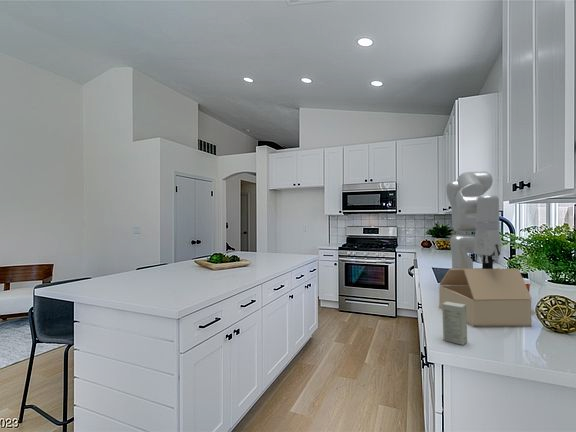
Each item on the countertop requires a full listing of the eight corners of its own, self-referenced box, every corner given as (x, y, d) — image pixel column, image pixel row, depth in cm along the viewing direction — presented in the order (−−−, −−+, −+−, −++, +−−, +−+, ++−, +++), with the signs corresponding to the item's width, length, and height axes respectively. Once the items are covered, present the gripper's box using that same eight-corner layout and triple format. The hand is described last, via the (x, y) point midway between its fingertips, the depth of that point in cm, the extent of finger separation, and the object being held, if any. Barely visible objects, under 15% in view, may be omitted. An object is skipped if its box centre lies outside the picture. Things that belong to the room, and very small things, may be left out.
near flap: (500, 269, 128) (499, 268, 129) (450, 269, 128) (449, 268, 128) (486, 284, 137) (486, 283, 137) (439, 285, 136) (439, 284, 137)
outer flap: (463, 269, 118) (464, 269, 118) (517, 269, 119) (518, 268, 118) (473, 300, 112) (474, 299, 112) (530, 299, 113) (531, 299, 112)
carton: (439, 307, 136) (439, 285, 136) (487, 306, 137) (487, 285, 137) (473, 327, 112) (473, 300, 112) (531, 326, 113) (531, 300, 113)
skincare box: (467, 341, 99) (467, 304, 99) (463, 345, 96) (463, 307, 96) (446, 336, 104) (446, 300, 104) (442, 339, 101) (441, 303, 101)
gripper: (466, 225, 128) (466, 269, 128) (491, 227, 113) (491, 276, 113) (484, 225, 128) (484, 269, 128) (510, 227, 113) (511, 276, 113)
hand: (487, 272), depth 120 cm, fingers closed
